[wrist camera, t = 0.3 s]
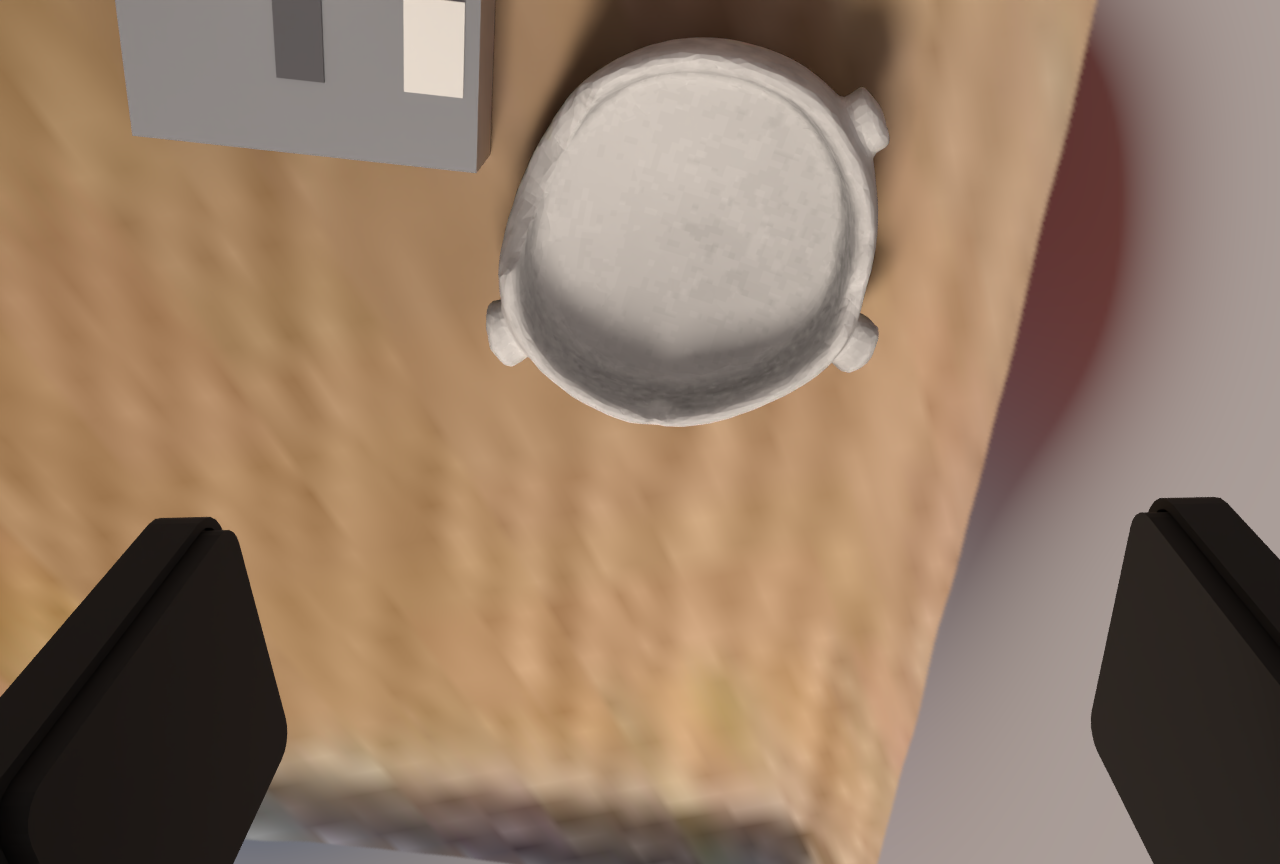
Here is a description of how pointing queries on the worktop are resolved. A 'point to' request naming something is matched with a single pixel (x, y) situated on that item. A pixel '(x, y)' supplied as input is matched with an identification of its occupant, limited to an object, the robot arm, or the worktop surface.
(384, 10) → the breaker panel
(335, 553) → the worktop surface
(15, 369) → the worktop surface
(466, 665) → the worktop surface
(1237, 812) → the robot arm
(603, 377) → the dish
